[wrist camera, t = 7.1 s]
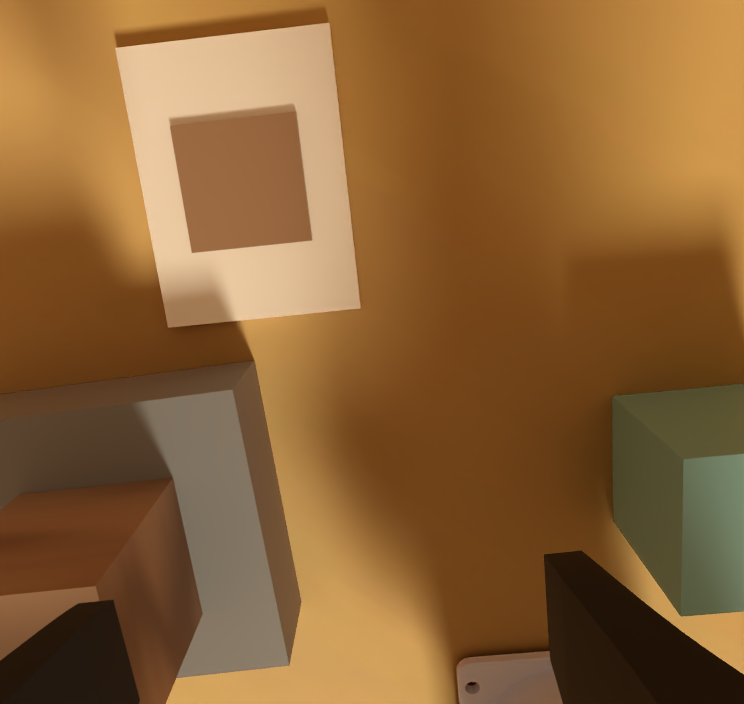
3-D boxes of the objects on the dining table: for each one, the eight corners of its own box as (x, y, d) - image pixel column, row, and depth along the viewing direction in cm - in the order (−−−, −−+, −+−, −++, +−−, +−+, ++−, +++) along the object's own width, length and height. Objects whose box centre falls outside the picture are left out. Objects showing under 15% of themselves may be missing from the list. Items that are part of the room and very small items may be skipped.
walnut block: (202, 614, 19) (141, 760, 14) (57, 628, 19) (-53, 777, 14) (172, 477, 18) (95, 586, 13) (19, 494, 18) (-115, 607, 13)
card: (360, 306, 19) (360, 309, 19) (171, 325, 20) (166, 329, 19) (329, 26, 18) (328, 20, 17) (121, 51, 18) (112, 46, 17)
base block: (302, 594, 23) (289, 665, 19) (62, 622, 23) (7, 697, 20) (256, 356, 20) (232, 389, 17) (-8, 392, 21) (-83, 431, 17)
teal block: (747, 508, 21) (855, 602, 16) (612, 520, 21) (680, 616, 16) (752, 382, 20) (871, 442, 15) (611, 395, 20) (683, 459, 15)
